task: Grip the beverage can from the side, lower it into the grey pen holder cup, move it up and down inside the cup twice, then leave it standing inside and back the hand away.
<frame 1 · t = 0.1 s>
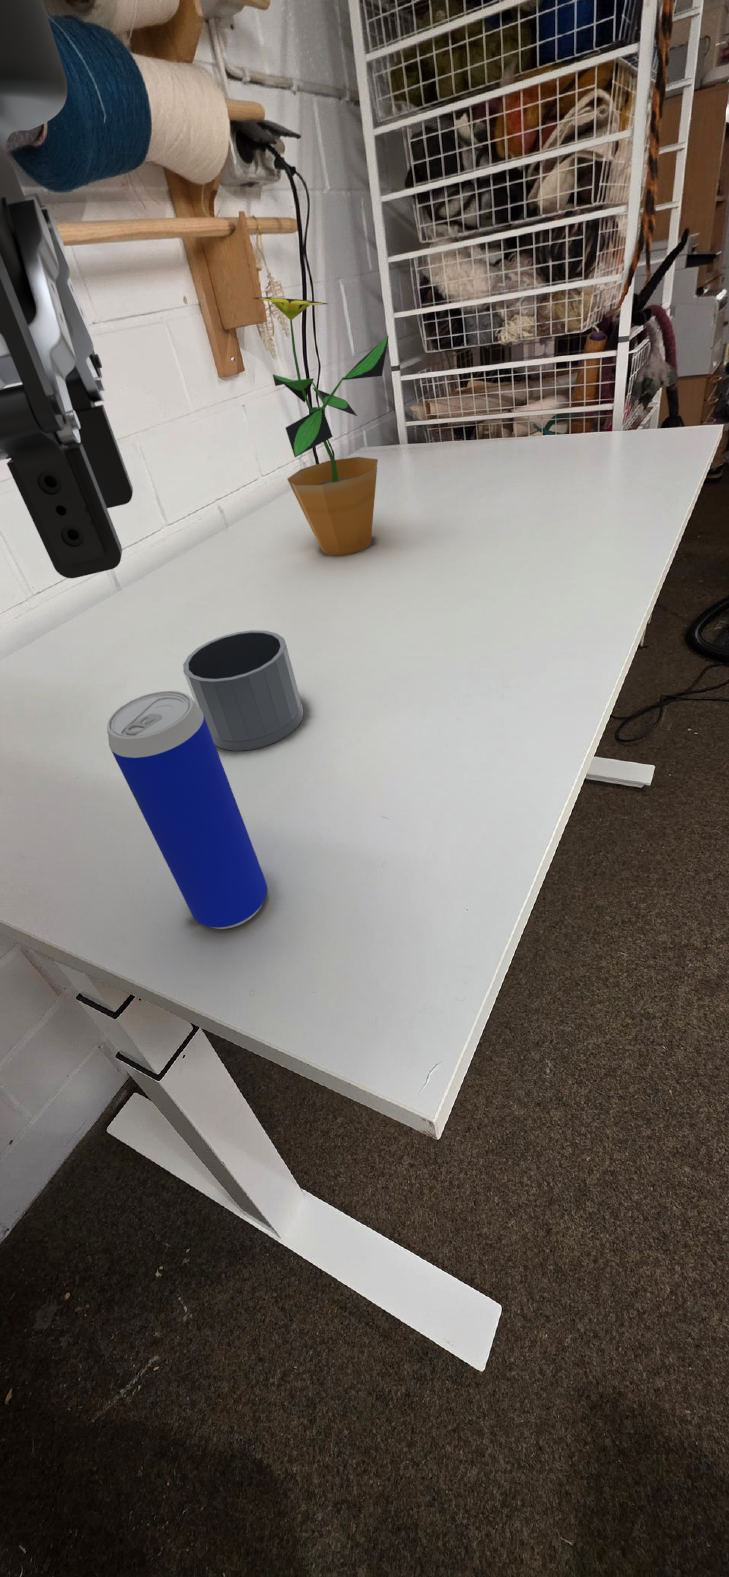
hand: (103, 534, 26), 25 cm above the table, tool pointing down, fingers open, 8 cm apart
potted plant: (348, 546, 96), on the table
grey pen holder cup: (255, 722, 62), on the table
beverage can: (232, 905, 45), on the table
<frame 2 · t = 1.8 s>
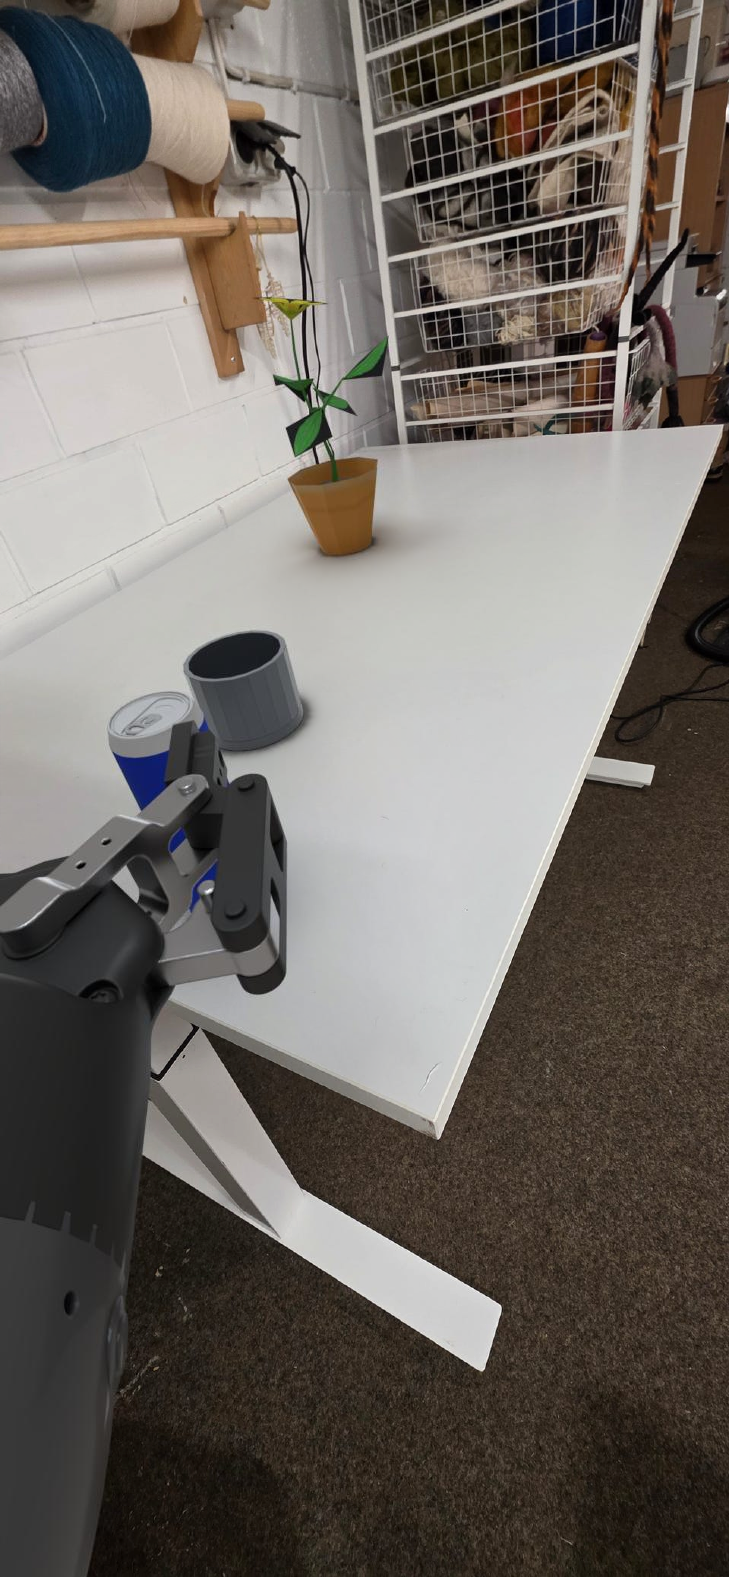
hand: (75, 769, 24), 19 cm above the table, tool horizontal, fingers open, 8 cm apart
nothing on the table moved.
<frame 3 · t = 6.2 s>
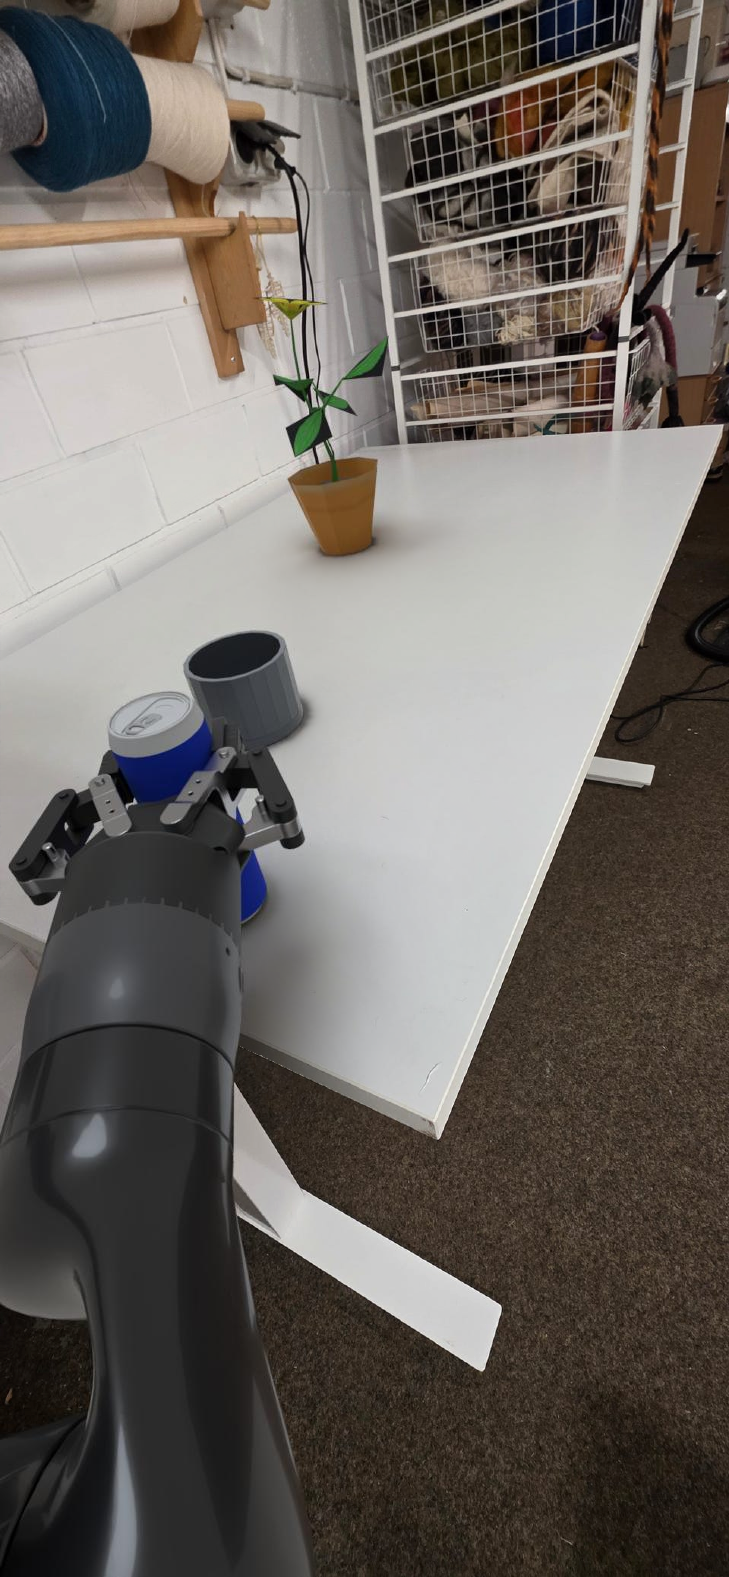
hand: (175, 741, 40), 11 cm above the table, tool horizontal, fingers closed on beverage can, 5 cm apart
beverage can: (232, 905, 45), on the table, touching gripper
everything else where it was.
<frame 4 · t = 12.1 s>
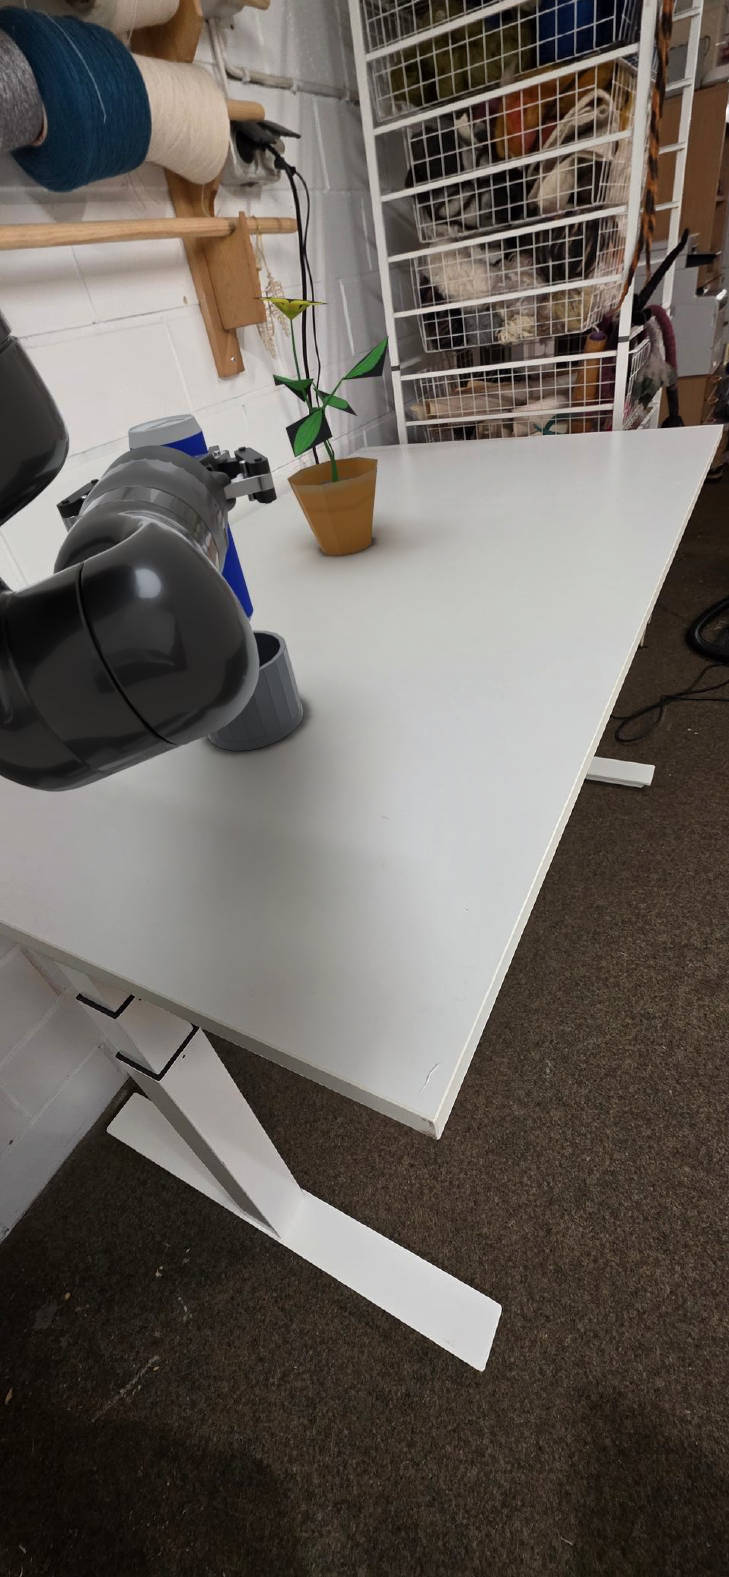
hand: (180, 469, 50), 22 cm above the table, tool horizontal, fingers closed on beverage can, 5 cm apart
beverage can: (225, 626, 56), point 10 cm above the table, touching gripper
everything else where it was.
when the fingers open (12 cm above the table, at t = 18.3 s): beverage can stays where it is, resting on grey pen holder cup.
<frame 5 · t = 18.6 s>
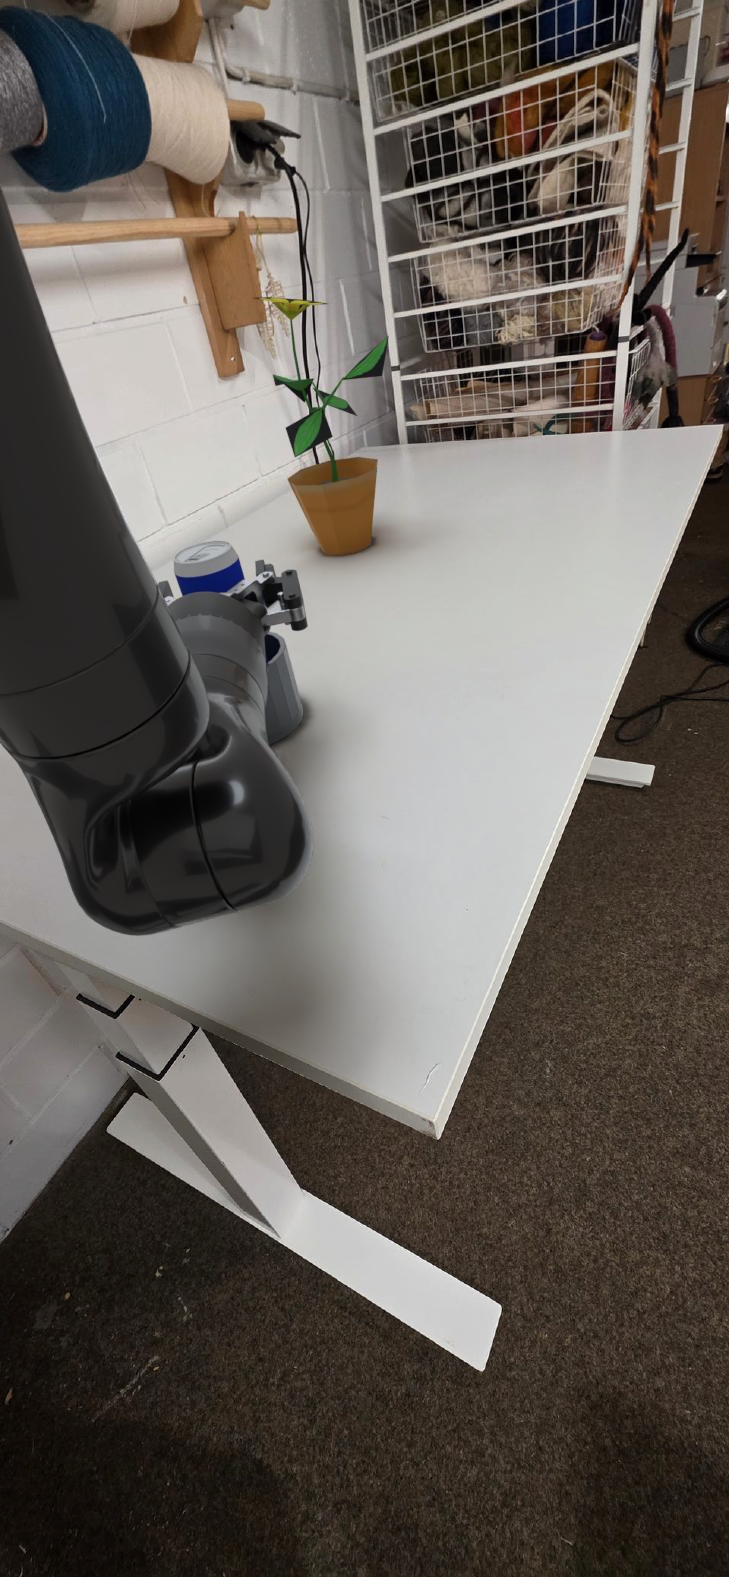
hand: (214, 582, 56), 13 cm above the table, tool horizontal, fingers open, 7 cm apart
beverage can: (254, 715, 62), point 1 cm above the table, touching grey pen holder cup
everything else where it was.
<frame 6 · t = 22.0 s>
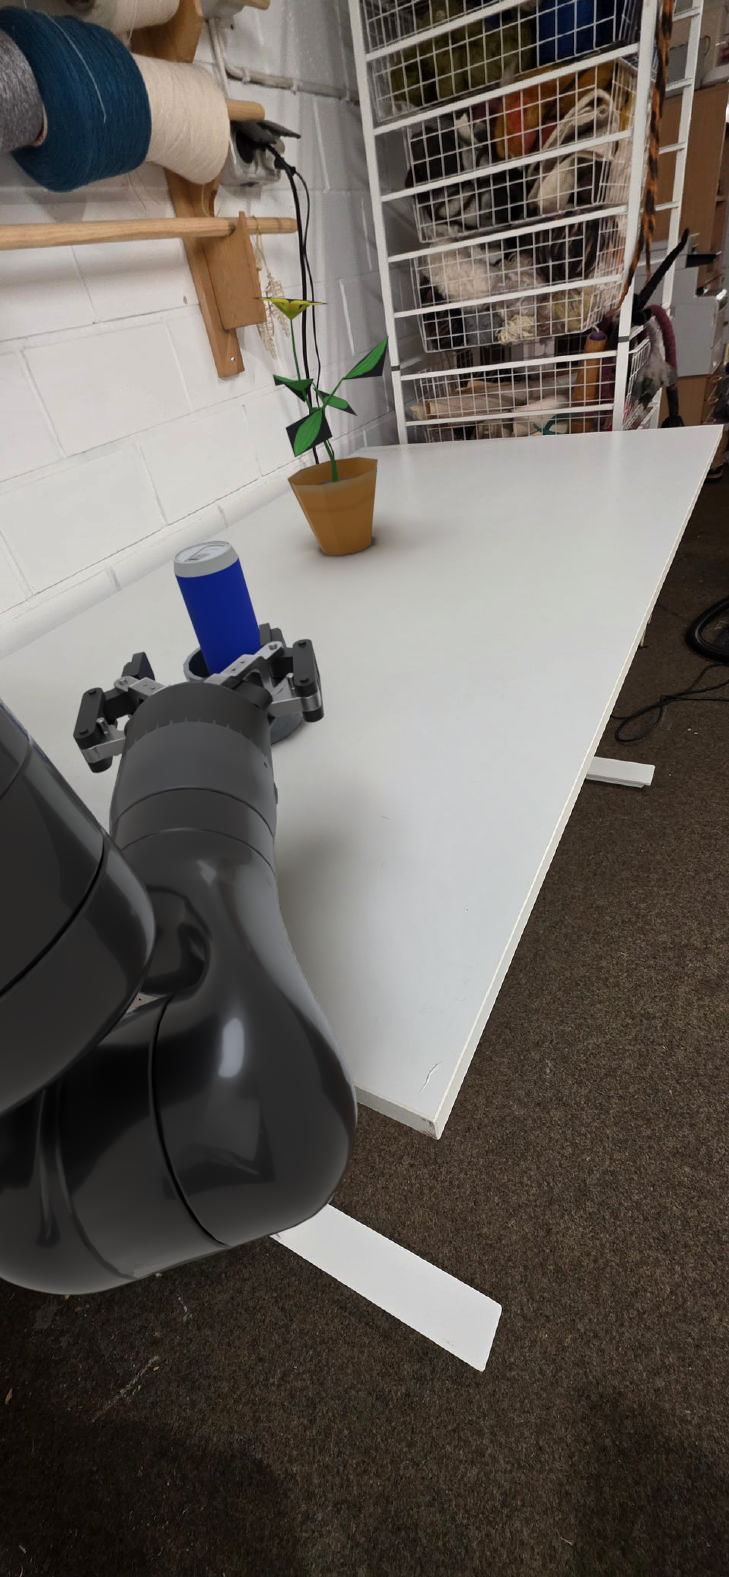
hand: (206, 650, 46), 13 cm above the table, tool horizontal, fingers open, 8 cm apart
nothing on the table moved.
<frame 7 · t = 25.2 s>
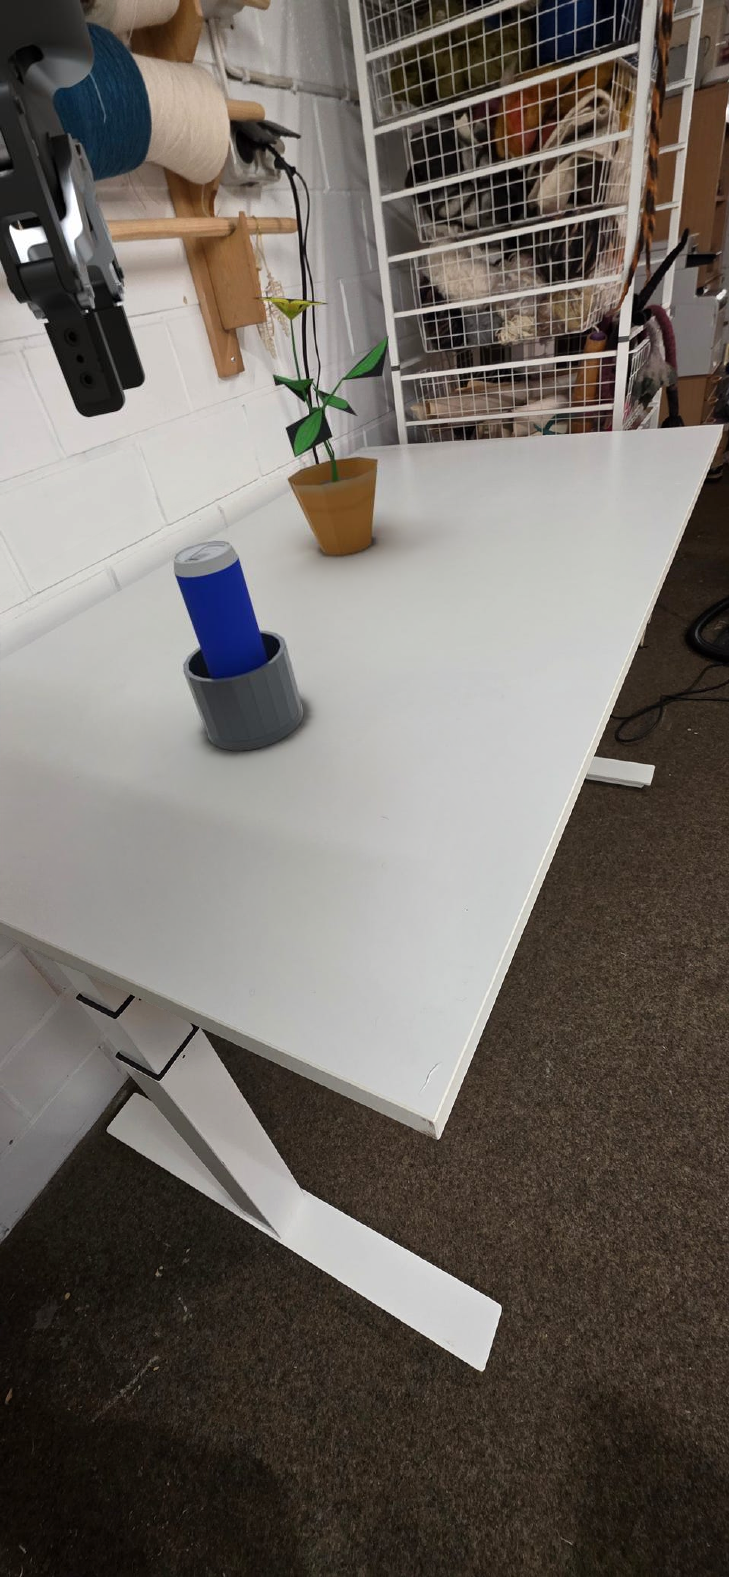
hand: (117, 399, 35), 28 cm above the table, tool pointing down, fingers open, 8 cm apart
nothing on the table moved.
at the end: beverage can 0.2 cm off-centre in the grey pen holder cup, point 0.8 cm above the grey pen holder cup's base; beverage can tilted 0°; the gripper is holding nothing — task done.
